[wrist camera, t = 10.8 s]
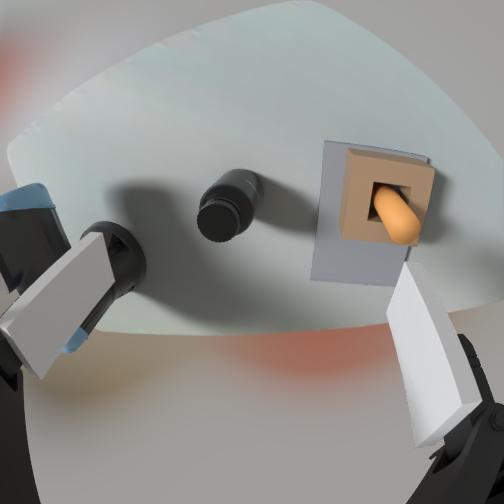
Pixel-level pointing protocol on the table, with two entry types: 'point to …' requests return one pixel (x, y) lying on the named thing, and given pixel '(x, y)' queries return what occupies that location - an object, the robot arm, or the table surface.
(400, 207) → the peg
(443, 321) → the robot arm
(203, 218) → the supplement bottle
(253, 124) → the table surface
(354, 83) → the table surface
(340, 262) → the socket board
